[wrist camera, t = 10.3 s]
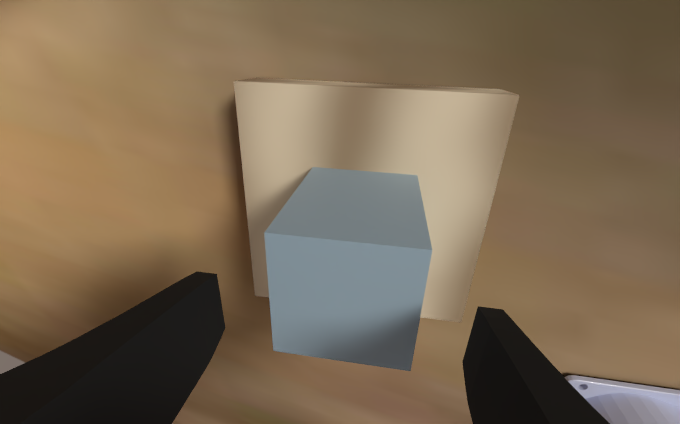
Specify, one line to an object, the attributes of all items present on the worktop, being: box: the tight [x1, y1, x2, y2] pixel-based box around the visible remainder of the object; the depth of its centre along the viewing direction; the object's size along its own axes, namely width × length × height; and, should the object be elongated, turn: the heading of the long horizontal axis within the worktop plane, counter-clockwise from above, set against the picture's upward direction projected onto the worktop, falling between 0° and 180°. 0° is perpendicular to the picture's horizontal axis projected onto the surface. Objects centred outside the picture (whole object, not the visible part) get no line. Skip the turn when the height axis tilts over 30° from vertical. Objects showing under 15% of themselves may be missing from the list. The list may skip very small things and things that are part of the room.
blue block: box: [264, 167, 432, 371], centre depth 12 cm, size 4×4×6 cm
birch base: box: [234, 78, 519, 322], centre depth 16 cm, size 11×11×2 cm
